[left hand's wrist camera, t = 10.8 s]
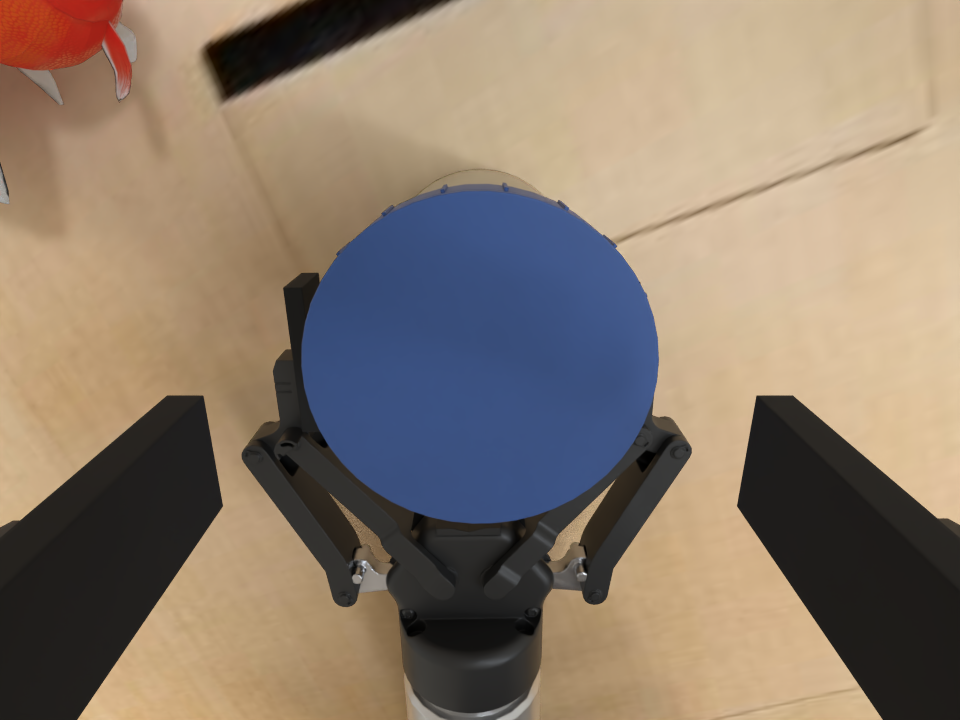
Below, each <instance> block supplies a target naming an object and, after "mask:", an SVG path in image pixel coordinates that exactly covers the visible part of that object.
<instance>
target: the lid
mask: <svg viewBox="0 0 960 720" xmlns="http://www.w3.org/2000/svg"><path fill="white" fill-rule="evenodd" d="M616 247H617V246H616V244H615V243H613V242H612V241H611V240H610V239H609V238H608V237H606V236H605V235H603V236H602V235H601V234H600V233H599V232H598V231H597V230H595V229H594V228H593V227H592V226H591V225H589V224H588V223H587V222H586V221H584V220H583V219H582V218H581V217H579V216H578V215H577V214H576V213H574V212H573V211H571V210H569V208H568V207H567V206H566V205H565V204H564V203H563V202H562V201H560V200H558V202H555V201H554V200H551V199H549V198H546V197H544V196H541V195H539V194H536V193H534V192H531V191H527V190H523V189H519V188H515V187H511V186H507V183H503V184H502V185H494V184H464V185H457V186H451V187H448V186H447V184H445V185H443V187H442V188H440V189H437V190H433V191H430V192H427V193H423V194H420V195H418V196H416V197H414V198H412V199H409V200H407V201H405V202H403V203H401V204H399V205H397V206H396V207H393V205H391V206H390V207H389V208H387V209H386V210H385V211H384V212H383V213H382V216H380V217H379V218H378V219H377V220H376V221H374V222H373V223H372V224H371V225H370V226H368V227H367V228H366V229H365V230H364V231H363V232H361V233H360V234H359V235H358V236H357V237H356V238H355V239H353V240H352V241H351V242H349V243H348V244H347V245H346V246H344V247H343V248H342V249H341V250H340V251H339V252H338V253H337V254H336V255H337V256H338V257H337V258H336V259H335V260H334V262H333V263H332V265H331V266H330V268H329V269H328V271H327V272H326V274H325V275H324V277H323V278H322V280H321V282H320V284H319V286H318V288H317V290H316V293H315V295H314V297H313V299H312V301H311V303H310V308H309V311H308V314H307V318H306V321H305V326H304V333H303V339H302V364H301V367H302V374H303V382H304V389H305V392H306V396H307V399H308V403H309V407H310V410H311V412H312V414H313V417H314V419H315V421H316V424H317V426H318V428H319V430H320V432H321V434H322V435H323V437H324V439H325V440H326V442H327V444H328V445H329V447H330V448H331V450H332V451H333V452H334V453H335V455H336V456H337V457H338V458H339V460H340V461H341V462H342V464H343V465H344V466H345V467H346V468H347V469H348V470H349V471H350V472H351V473H352V474H353V475H354V476H355V477H356V478H358V479H359V480H360V481H361V482H363V483H364V484H365V485H367V486H368V487H369V488H370V489H372V490H373V491H374V492H376V493H378V494H379V495H381V496H383V497H384V498H386V499H388V500H389V501H391V502H393V503H395V504H397V505H399V506H402V507H404V508H406V509H408V510H410V511H413V512H416V513H419V514H422V515H425V516H428V517H432V518H437V519H441V520H446V521H451V522H461V523H471V524H478V523H500V522H507V521H515V520H519V519H523V518H527V517H532V516H535V515H538V514H541V513H544V512H546V511H549V510H552V509H555V508H557V507H559V506H561V505H563V504H565V503H567V502H569V501H571V500H573V499H574V498H576V497H578V496H579V495H581V494H582V493H584V492H585V491H587V490H588V489H590V488H591V487H592V486H594V485H595V484H596V483H597V482H598V481H600V480H601V479H602V478H603V477H604V476H606V475H607V474H608V473H609V472H610V471H611V470H612V468H613V467H614V466H615V465H616V464H617V463H618V462H619V461H620V460H621V459H622V458H623V456H624V455H625V453H626V452H627V451H628V449H629V448H630V446H631V445H632V444H633V442H634V441H635V439H636V437H637V435H638V433H639V432H640V430H641V428H642V426H643V424H644V422H645V419H646V417H647V414H648V412H649V409H650V406H651V404H652V400H653V396H654V392H655V387H656V383H657V374H658V363H659V355H658V337H657V332H656V327H655V322H654V317H653V314H652V311H651V308H650V305H649V302H648V299H647V294H646V293H645V292H644V290H643V288H642V286H641V284H640V282H639V281H638V279H637V277H636V275H635V273H634V272H633V270H632V269H631V268H630V266H629V265H628V263H627V262H626V261H625V259H624V258H623V256H622V255H621V254H620V253H619V252H618V251H617V250H616V249H615V248H616Z"/></svg>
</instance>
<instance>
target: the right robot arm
mask: <svg viewBox="0 0 960 720" xmlns="http://www.w3.org/2000/svg"><path fill="white" fill-rule="evenodd" d="M319 284H320V281H319V273H301V274H300V275H299V276H297V277H296V278H295V279H294V280H292V281H291V282H290V283H289V284H287V285H286V286H285V287H284V288H283V290H284V297H285V305H286V312H287V320H288V327H289V335H290V342H291V350H285V351H284V352H283V353H282V354H281V356H280V357H279V358H278V359H277V360H276V362H275V366H274V370H273V375H274V382H275V389H276V396H277V402H278V409H279V416H280V421H278V422H270V421H269V422H266V423H264V424H263V425H262V426H261V427H260V428H259V430H258V431H257V432H256V434H255V435H254V436H253V438H252V439H251V440H250V442H249V443H248V444H247V446H246V447H245V449H244V450H243V452H242V460H243V462H244V463H245V465H246V466H247V467H248V469H249V470H250V471H251V473H252V474H253V475H254V477H255V478H256V479H257V481H258V482H259V483H260V485H261V486H262V487H263V489H264V490H265V491H266V493H267V494H268V495H269V497H270V498H271V499H272V501H273V502H274V503H275V505H276V506H277V507H278V509H279V510H280V511H281V513H282V514H283V515H284V517H285V518H286V519H287V521H288V522H289V523H290V525H291V526H292V527H293V529H294V530H295V531H296V533H297V534H298V535H299V537H300V538H301V539H302V541H303V542H304V543H305V545H306V546H307V547H308V549H309V550H310V551H311V553H312V554H313V555H314V557H315V558H316V559H317V561H318V562H319V563H320V565H321V566H322V567H323V569H324V570H325V571H326V574H327V578H328V582H329V585H330V589H331V593H332V597H333V600H334V601H335V603H336V604H338V605H339V606H342V607H349V606H352V605H353V604H355V602H356V601H357V597H358V594H359V593H363V592H373V591H382V590H388V591H389V593H390V594H391V595H392V596H393V598H394V599H395V601H396V602H397V605H398V609H399V621H400V633H401V646H402V658H403V667H404V685H405V696H406V706H407V717H408V720H540V691H541V666H540V665H541V655H542V618H543V603H544V600H545V598H546V596H547V595H548V594H549V592H550V591H551V589H552V588H553V589H565V590H578V591H582V594H583V598H584V600H585V601H586V602H587V603H589V604H593V605H595V604H600V603H602V602H603V601H605V600H606V598H607V595H608V590H609V585H610V581H611V576H612V572H613V568H614V567H615V565H616V564H617V562H618V561H619V560H620V558H621V557H622V555H623V554H624V552H625V551H626V549H627V548H628V546H629V545H630V543H631V542H632V541H633V539H634V538H635V536H636V535H637V533H638V532H639V530H640V529H641V527H642V526H643V525H644V523H645V522H646V520H647V519H648V517H649V516H650V514H651V513H652V511H653V510H654V509H655V507H656V506H657V504H658V503H659V501H660V500H661V498H662V497H663V495H664V494H665V493H666V491H667V490H668V488H669V487H670V485H671V484H672V482H673V481H674V479H675V478H676V476H677V475H678V474H679V472H680V471H681V469H682V468H683V466H684V465H685V463H686V462H687V460H688V459H689V458H690V455H691V453H692V448H691V446H690V444H689V443H688V441H687V440H686V438H685V437H684V435H683V434H682V432H681V431H680V429H679V428H678V426H677V425H676V423H675V422H674V420H672V419H671V418H670V417H660V418H659V417H656V416H653V415H652V409H653V400H652V404H651V406H650V409H649V412H648V414H647V417H646V419H645V422H644V424H643V426H642V428H641V430H640V432H639V433H638V435H637V437H636V439H635V441H634V442H633V444H632V445H631V446H630V448H629V449H628V451H627V452H626V453H625V455H624V456H623V458H622V459H621V460H620V461H619V462H618V463H617V464H616V465H615V466H614V467H613V468H612V470H611V471H610V472H609V473H608V474H607V475H606V476H604V477H603V478H602V479H601V480H600V481H598V482H597V483H596V484H595V485H594V486H592V487H591V488H590V489H588V490H587V491H585V492H584V493H582V494H581V495H579V496H578V497H576V498H574V499H573V500H571V501H569V502H567V503H565V504H563V505H561V506H559V507H557V508H555V509H552V510H549V511H546V512H544V513H541V514H538V515H535V516H532V517H527V518H523V519H519V520H515V521H507V522H500V523H478V524H471V523H461V522H451V521H446V520H441V519H437V518H432V517H428V516H425V515H422V514H419V513H416V512H413V511H410V510H408V509H406V508H404V507H402V506H399V505H397V504H395V503H393V502H391V501H389V500H388V499H386V498H384V497H383V496H381V495H379V494H378V493H376V492H374V491H373V490H372V489H370V488H369V487H368V486H367V485H365V484H364V483H363V482H361V481H360V480H359V479H358V478H356V477H355V476H354V475H353V474H352V473H351V472H350V471H349V470H348V469H347V468H346V467H345V466H344V465H343V464H342V462H341V461H340V460H339V458H338V457H337V456H336V455H335V453H334V452H333V451H332V450H331V448H330V447H329V445H328V444H327V442H326V440H325V439H324V437H323V435H322V434H321V432H320V430H319V428H318V426H317V424H316V421H315V419H314V417H313V414H312V412H311V410H310V407H309V403H308V399H307V396H306V392H305V389H304V382H303V374H302V367H301V364H302V339H303V333H304V326H305V321H306V318H307V314H308V311H309V308H310V303H311V301H312V299H313V297H314V295H315V293H316V290H317V288H318V286H319ZM653 398H654V396H653ZM616 478H617V479H616ZM615 479H616V480H615ZM614 480H615V482H614V483H613V485H612V486H611V488H610V490H609V491H608V493H607V494H606V496H605V497H604V499H603V500H602V502H601V503H600V505H599V507H598V508H597V510H596V511H595V513H594V514H593V516H592V517H591V519H590V520H589V522H588V524H587V525H586V527H585V529H584V531H583V534H582V536H581V540H580V543H578V542H573V543H572V544H571V545H570V549H569V550H568V551H567V553H566V555H565V556H564V557H563V558H562V559H560V560H558V561H551V559H550V557H549V555H548V554H547V553H548V552H549V551H550V550H551V548H552V547H553V545H554V544H555V541H556V537H557V536H558V534H559V533H560V532H561V531H562V530H563V529H564V528H565V527H566V526H568V525H569V524H570V523H571V522H572V521H573V520H574V519H575V518H576V517H577V516H578V515H579V514H580V513H581V512H582V511H583V510H584V509H585V508H586V507H587V506H588V505H589V504H590V503H591V502H592V501H594V500H595V499H596V498H597V497H598V496H599V495H600V494H601V493H602V492H603V491H604V490H605V489H606V488H607V487H608V486H609V485H610V484H611V483H612V482H613V481H614ZM328 492H329V493H330V494H331V495H332V496H334V497H335V498H336V499H337V500H338V501H339V502H340V503H341V504H343V505H344V506H345V507H346V508H347V509H348V510H349V511H350V512H352V513H353V514H354V515H355V516H356V517H357V518H358V519H359V520H361V521H362V522H363V523H364V524H365V525H366V526H367V527H368V528H369V529H371V530H372V531H373V532H374V533H375V534H376V535H377V536H378V537H379V538H380V540H381V544H382V546H383V548H384V550H385V551H386V552H387V553H388V554H390V555H391V556H392V558H391V559H390V562H389V563H384V562H381V561H379V560H377V559H376V558H375V556H374V555H373V553H372V552H371V548H370V546H369V545H367V544H363V545H361V544H360V541H359V538H358V536H357V534H356V532H355V530H354V529H353V527H352V525H351V524H350V522H349V521H348V520H347V518H346V517H345V515H344V514H343V513H342V511H341V510H340V508H339V507H338V505H337V504H336V503H335V501H334V500H333V498H332V497H331V496H330V494H329V493H328ZM411 531H412V532H411Z"/></svg>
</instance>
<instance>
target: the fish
mask: <svg viewBox="0 0 960 720" xmlns="http://www.w3.org/2000/svg"><path fill="white" fill-rule="evenodd" d="M122 5H123V0H0V63H1V64H5V65H8V66H13V67H17V68H18V69H19V70H20V71H21V72H22V73H23V74H24V75H26V76H27V77H28V78H29V79H31V80H32V81H33V82H34V83H36V84H37V85H38V86H39V87H40V88H41V89H43V90H44V91H45V92H46V93H47V94H48V95H49V96H50V97H51V98H52V99H53V100H55V101H56V102H57V103H58V104H59V105H63V104H64V103H63V101H62V98H61V96H60V93H59V90H58V87H57V85H56V83H55V80H54V78H53V77H52V75H51V73H50V72H49V70H53V69H58V68H64V67H71V66H74V65H78V64H80V63H82V62H84V61H86V60H87V59H89V58H90V57H92V56H93V55H95V54H96V53H97V52H99V51H100V50H101V49H102V48H103V50H104V52H105V54H106V56H107V58H108V60H109V62H110V63H111V65H112V67H113V69H114V73H115V80H116V96H117V99H118V101H119V103H120V101H121V100H122V99H124V98H125V97H126V96H127V95H128V94H129V92H130V86H131V77H132V65H131V62H134V61H136V59H137V46H136V38H135V34H134V33H133V32H132V30H130V29H129V28H128V27H126V26H124V25H123V24H122V23H121V22H120V18H121V14H122ZM0 203H6V204H9V192H8V188H7V184H6V181H5V177H4V174H3V170H2V167H1V164H0Z"/></svg>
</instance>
